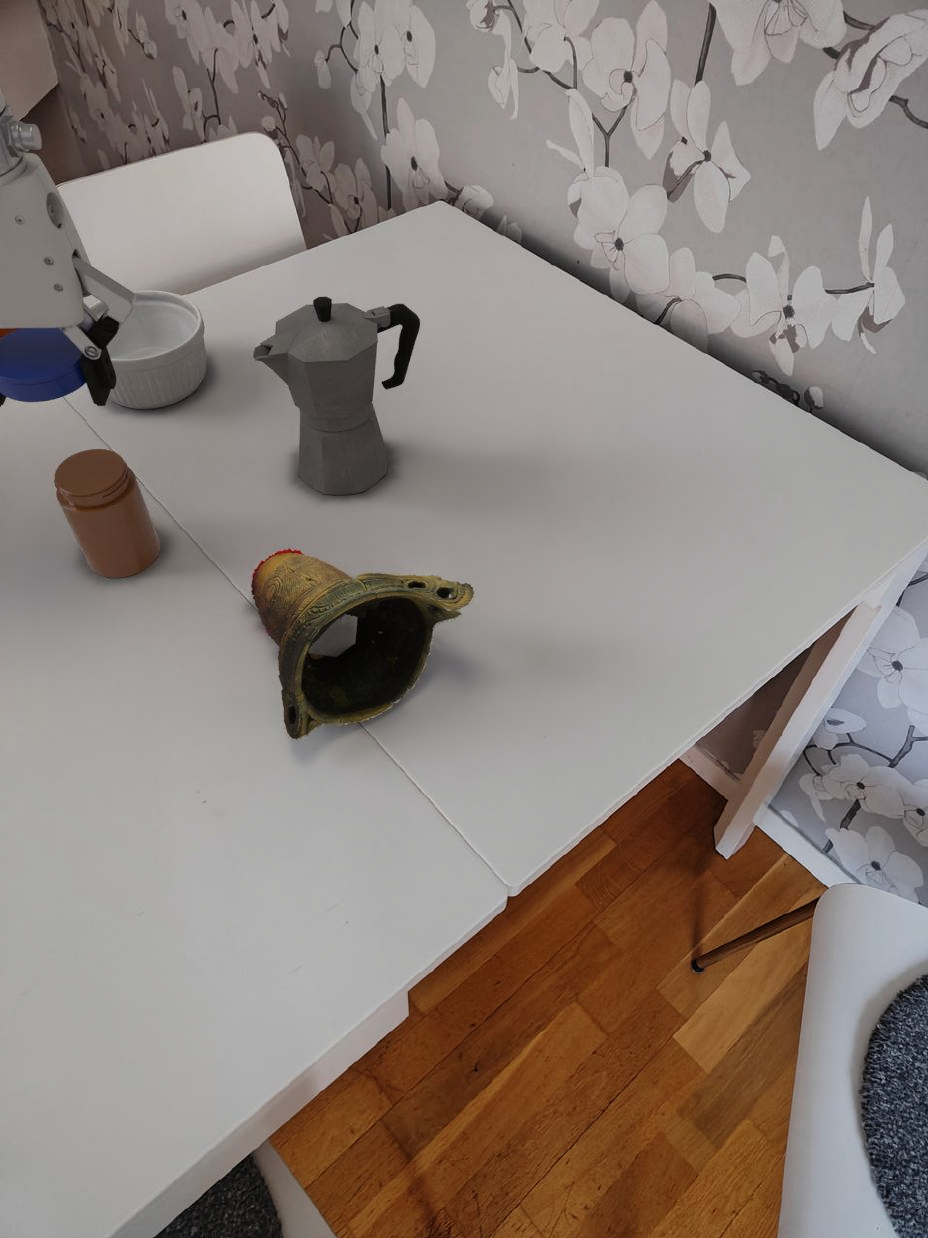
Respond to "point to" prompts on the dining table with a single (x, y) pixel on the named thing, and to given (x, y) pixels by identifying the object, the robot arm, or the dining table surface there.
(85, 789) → the dining table surface
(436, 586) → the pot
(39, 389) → the lid
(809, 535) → the dining table surface
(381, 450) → the coffeepot
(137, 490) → the jar
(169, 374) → the ramekin
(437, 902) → the dining table surface
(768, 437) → the dining table surface
